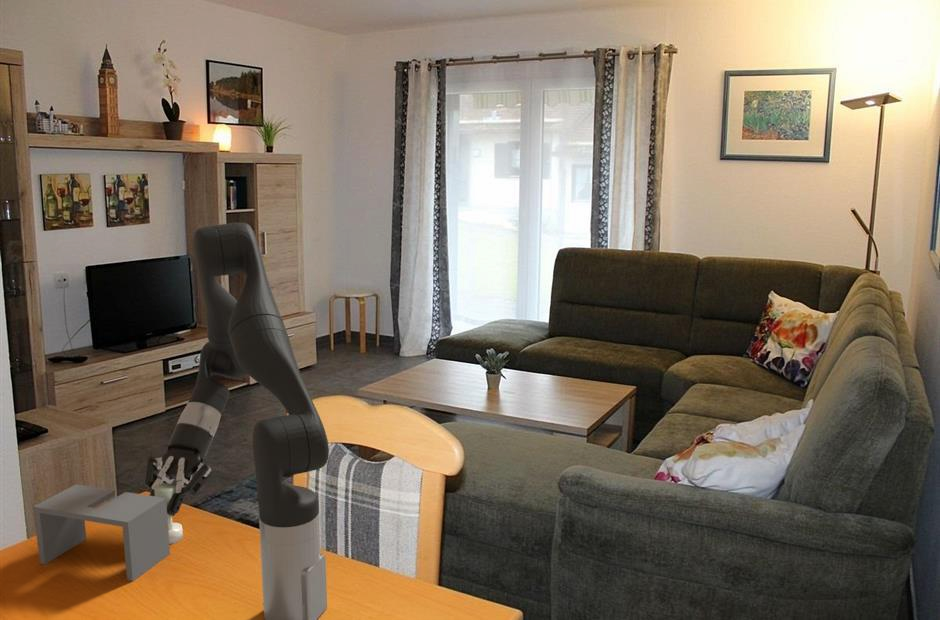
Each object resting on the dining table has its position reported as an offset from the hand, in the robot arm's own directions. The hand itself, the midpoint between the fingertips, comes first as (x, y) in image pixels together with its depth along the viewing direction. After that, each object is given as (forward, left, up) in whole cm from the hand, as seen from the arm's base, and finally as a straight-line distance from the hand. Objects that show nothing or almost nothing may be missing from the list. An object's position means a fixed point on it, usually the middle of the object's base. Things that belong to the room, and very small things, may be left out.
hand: (160, 512), depth 150 cm
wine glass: (0, -2, -6) cm, 7 cm away
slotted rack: (+6, +9, -6) cm, 13 cm away
